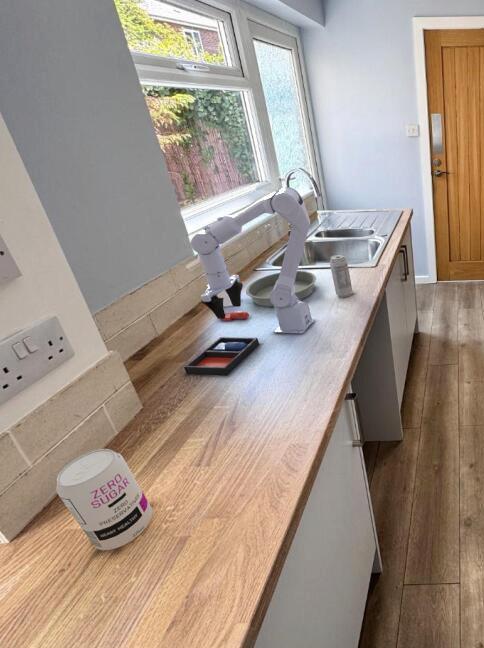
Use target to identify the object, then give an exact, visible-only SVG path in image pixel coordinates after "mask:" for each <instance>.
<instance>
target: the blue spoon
mask: <svg viewBox="0 0 484 648" xmlns="http://www.w3.org/2000/svg"><path fill="white" fill-rule="evenodd" d="M246 346H247V345H246V344H245V343H243V342H228V343H220V344H218V345H217V346H216V347H215V348H214V349H213V351H228V350H231V351H242V350H243V349H244V348H245V347H246Z"/></svg>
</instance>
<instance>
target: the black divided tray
mask: <svg viewBox="0 0 484 648" xmlns="http://www.w3.org/2000/svg"><path fill="white" fill-rule="evenodd" d="M228 342H243V343H245V344H246V345H247V346H246V347H245V348H244V349H243V350H242V351H231V350H228V351H213V349H214V348H215V347H216V346H217V345H218V344H220V343H228ZM259 346H260V342H259V339H258V337H244V336H243V337H240V336H239V337H235V336H220V337H218V338H217V339H216V340H215V341H214V342H212V343H211V344H210V345H208V346H207V347H206V348H204V350H203V351H202V352H200V353H198V355H197V356H195V357H194V358H193V359H192V360H191V361H189V362H188V363H187V364H185V365H184V366H183V368H184V371H185V373H186V375H194V376H195V375H197V376H218V377H220V376H221V377H222V376H223V377H228V376H229V375H230V374H231V373H232V372H233V371H234V370H235V369H237V367H238V366H240V364H241V363H242V362H244V360H246V359H247V358H248V357H249V356H250V355H251V354H252V353H253V352H254V351H255V350H257V348H258V347H259Z"/></svg>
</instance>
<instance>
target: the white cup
mask: <svg viewBox="0 0 484 648" xmlns="http://www.w3.org/2000/svg"><path fill="white" fill-rule="evenodd" d="M216 296H217V297H218V298H224V300H223V308H225V307H233V305H232V303H231V300H230V298H229V296H228V294H227V292H226V291H225V290H224V291H222V292H221V293H219V294H218V295H216Z"/></svg>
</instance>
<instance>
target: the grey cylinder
mask: <svg viewBox="0 0 484 648" xmlns="http://www.w3.org/2000/svg"><path fill="white" fill-rule="evenodd" d="M329 267H330V271H331V272H330V273H331V276H332V281H333V287H334V291H335V295H336V296H338V298H347V297H350V296H351V295H352V294H353V285H352V280H351V275H350V270H349V263H348V259H347V258H346V257H345V254H341V253H340V254H334V255H331V256H330V260H329Z"/></svg>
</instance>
